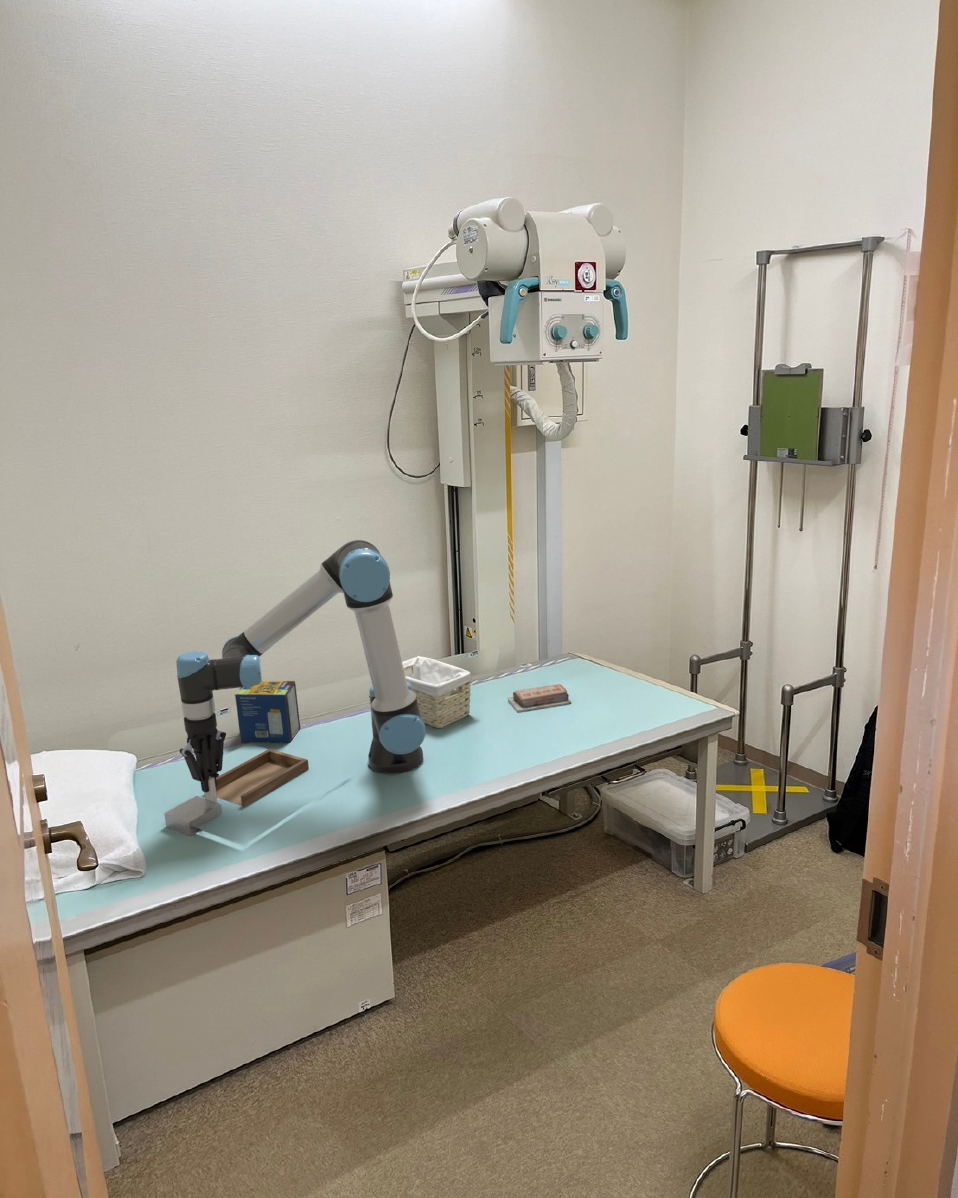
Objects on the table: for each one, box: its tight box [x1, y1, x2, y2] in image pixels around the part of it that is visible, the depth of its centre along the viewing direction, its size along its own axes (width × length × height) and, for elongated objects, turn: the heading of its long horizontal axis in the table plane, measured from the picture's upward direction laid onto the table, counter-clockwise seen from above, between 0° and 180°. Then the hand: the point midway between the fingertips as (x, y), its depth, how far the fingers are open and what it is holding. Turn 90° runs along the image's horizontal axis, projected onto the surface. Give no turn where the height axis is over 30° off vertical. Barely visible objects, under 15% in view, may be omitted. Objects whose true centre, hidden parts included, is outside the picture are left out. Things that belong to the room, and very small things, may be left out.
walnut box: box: [216, 748, 309, 808], centre depth 243 cm, size 14×23×4 cm, turn 147°
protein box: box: [234, 680, 301, 744], centre depth 271 cm, size 10×15×16 cm
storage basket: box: [402, 655, 473, 729], centre depth 282 cm, size 24×16×15 cm
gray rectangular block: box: [163, 795, 223, 837], centre depth 226 cm, size 9×10×4 cm
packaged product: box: [507, 683, 572, 713], centre depth 289 cm, size 18×5×10 cm
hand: (211, 801), depth 230 cm, fingers closed
